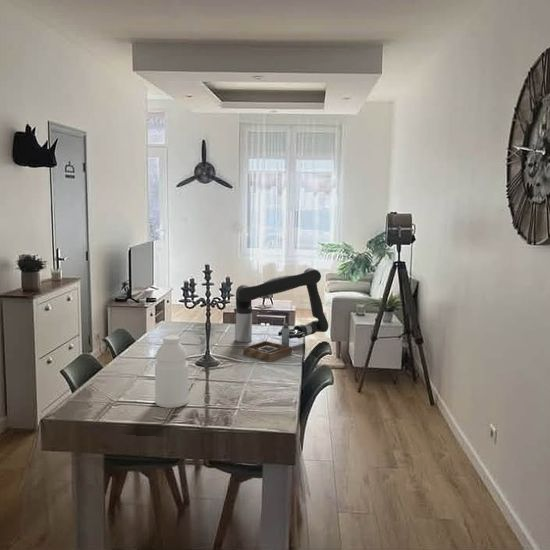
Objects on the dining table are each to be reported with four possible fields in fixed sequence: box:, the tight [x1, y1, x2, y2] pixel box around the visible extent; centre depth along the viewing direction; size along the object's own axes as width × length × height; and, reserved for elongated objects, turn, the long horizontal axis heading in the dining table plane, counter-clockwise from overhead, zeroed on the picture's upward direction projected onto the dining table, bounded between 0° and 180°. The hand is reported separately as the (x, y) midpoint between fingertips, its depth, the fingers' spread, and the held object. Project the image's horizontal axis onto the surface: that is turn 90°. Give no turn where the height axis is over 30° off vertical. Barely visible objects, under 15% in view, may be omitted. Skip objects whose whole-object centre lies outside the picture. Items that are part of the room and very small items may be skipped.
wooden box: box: [242, 340, 293, 362], centre depth 298 cm, size 19×19×4 cm
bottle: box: [154, 334, 190, 409], centre depth 225 cm, size 14×14×28 cm
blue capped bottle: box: [281, 323, 291, 346], centre depth 309 cm, size 4×4×14 cm
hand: (284, 335), depth 308 cm, fingers open, 8 cm apart
